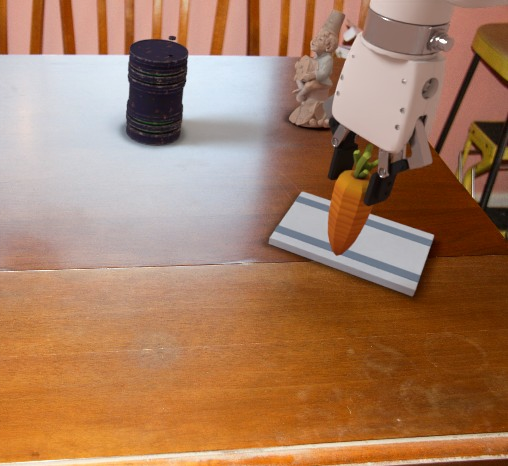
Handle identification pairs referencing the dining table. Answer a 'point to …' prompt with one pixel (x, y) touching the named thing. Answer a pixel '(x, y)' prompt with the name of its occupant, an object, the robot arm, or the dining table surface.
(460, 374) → the dining table surface
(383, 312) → the dining table surface
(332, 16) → the figurine
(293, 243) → the towel
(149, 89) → the dark blue cylinder
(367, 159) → the carrot
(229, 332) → the dining table surface
